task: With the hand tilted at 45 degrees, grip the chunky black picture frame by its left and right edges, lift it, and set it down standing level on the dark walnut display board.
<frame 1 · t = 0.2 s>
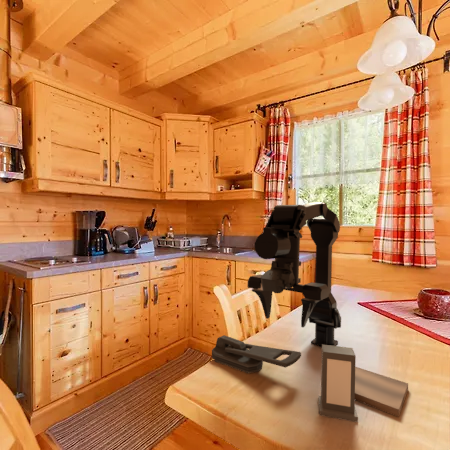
hand: (284, 322, 68), 14 cm above the table, tool pointing down, fingers open, 9 cm apart
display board: (372, 391, 65), on the table
picture frame: (336, 410, 58), on the table
zipper pull: (252, 368, 75), on the table
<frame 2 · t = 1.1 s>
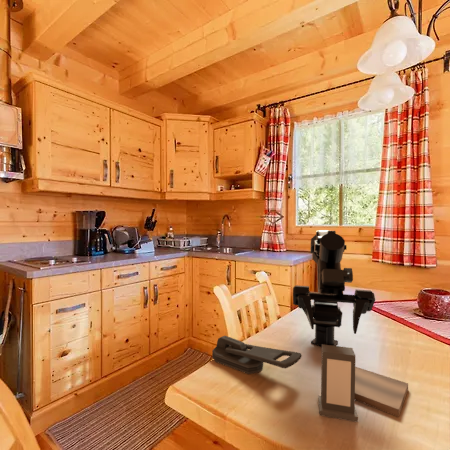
hand: (333, 330, 66), 13 cm above the table, tool tilted 45°, fingers open, 9 cm apart
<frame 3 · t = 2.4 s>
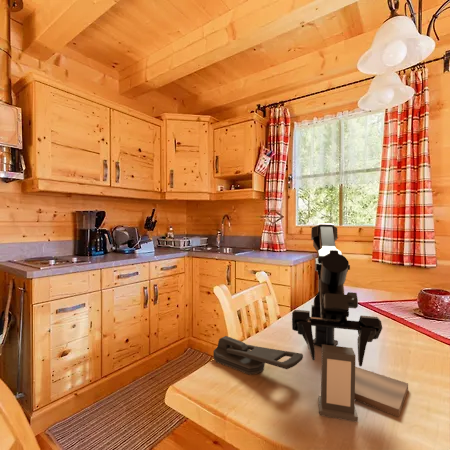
hand: (336, 362, 60), 9 cm above the table, tool tilted 45°, fingers open, 9 cm apart
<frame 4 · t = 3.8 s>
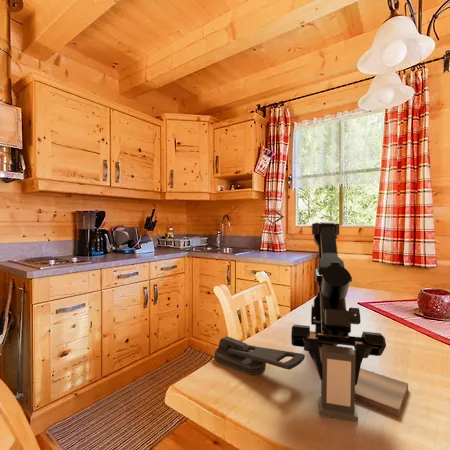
hand: (338, 382, 57), 7 cm above the table, tool tilted 45°, fingers closed on picture frame, 6 cm apart
picture frame: (336, 410, 58), on the table, touching gripper
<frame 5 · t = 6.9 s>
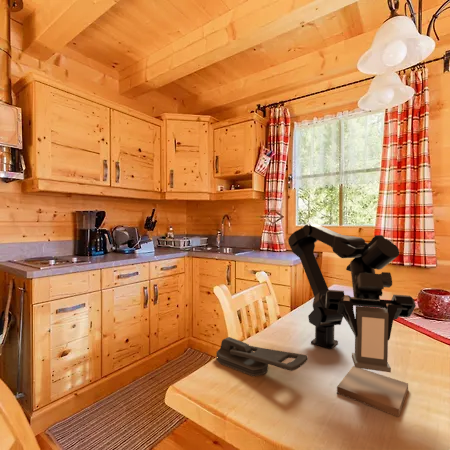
hand: (372, 337, 63), 13 cm above the table, tool tilted 45°, fingers closed on picture frame, 6 cm apart
picture frame: (370, 364, 65), point 6 cm above the table, touching gripper
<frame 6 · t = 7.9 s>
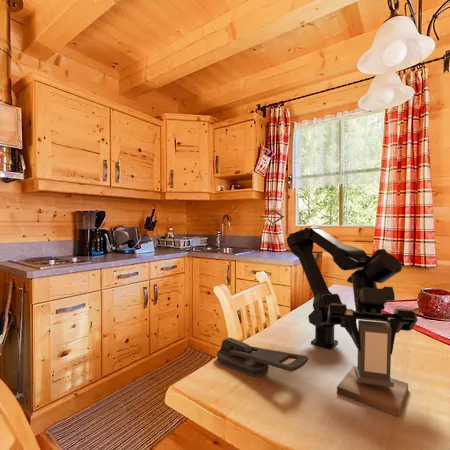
hand: (375, 352, 63), 10 cm above the table, tool tilted 45°, fingers closed on picture frame, 6 cm apart
picture frame: (373, 378, 65), point 3 cm above the table, touching gripper
when the fingers open (10 cm above the table, at t = 8.3 s): picture frame drops 1 cm, resting on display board.
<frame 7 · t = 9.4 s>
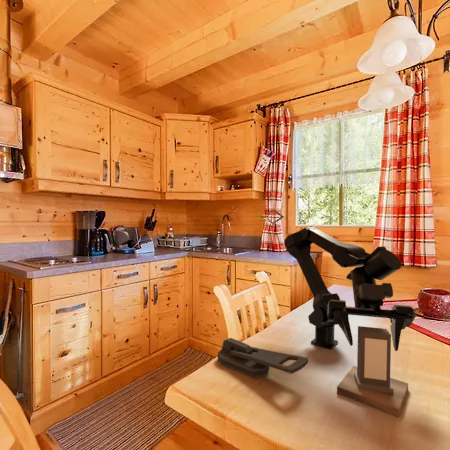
hand: (373, 347, 64), 10 cm above the table, tool tilted 45°, fingers open, 9 cm apart
picture frame: (372, 384, 65), point 1 cm above the table, touching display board
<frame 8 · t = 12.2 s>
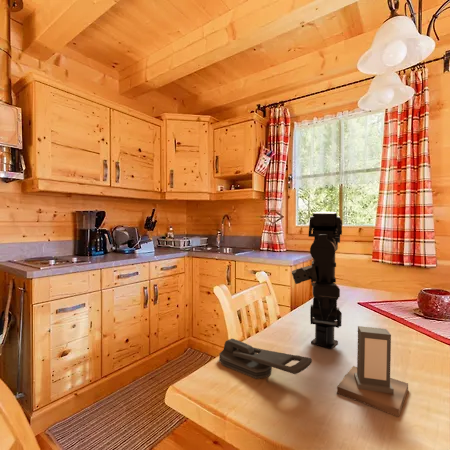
hand: (323, 314, 78), 13 cm above the table, tool pointing down, fingers open, 9 cm apart
at the end: picture frame inside the target area on the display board (0.0 cm from its centre), point 1.5 cm above the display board's base; picture frame tilted 0°; the gripper is holding nothing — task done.
